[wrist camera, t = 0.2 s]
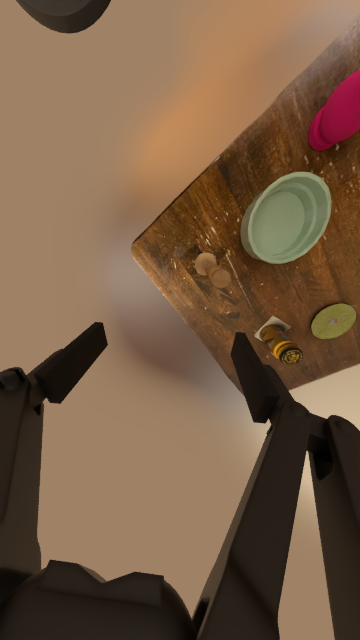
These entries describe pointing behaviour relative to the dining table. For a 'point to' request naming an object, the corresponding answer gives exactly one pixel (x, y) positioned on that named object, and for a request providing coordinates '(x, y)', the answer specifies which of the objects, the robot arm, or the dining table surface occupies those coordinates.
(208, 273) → the wooden post with base
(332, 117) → the pepper mill
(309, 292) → the dining table surface
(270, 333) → the condiment
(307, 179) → the bowl
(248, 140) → the dining table surface
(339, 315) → the olive green flat disc
